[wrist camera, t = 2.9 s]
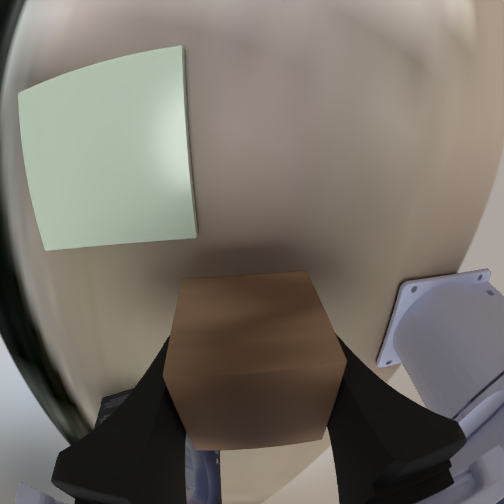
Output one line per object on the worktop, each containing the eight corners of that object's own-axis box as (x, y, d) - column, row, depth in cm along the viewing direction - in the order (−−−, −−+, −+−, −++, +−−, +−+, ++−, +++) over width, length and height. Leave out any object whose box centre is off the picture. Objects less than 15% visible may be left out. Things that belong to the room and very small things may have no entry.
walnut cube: (306, 270, 12) (347, 360, 7) (299, 355, 14) (321, 439, 10) (182, 279, 11) (162, 375, 7) (200, 362, 14) (195, 450, 9)
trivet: (184, 49, 10) (182, 45, 10) (198, 231, 14) (196, 238, 14) (26, 92, 10) (18, 93, 9) (51, 244, 14) (45, 250, 13)
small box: (224, 435, 24) (229, 531, 15) (174, 446, 25) (169, 531, 16) (149, 381, 20) (129, 507, 10) (99, 397, 21) (73, 499, 11)
